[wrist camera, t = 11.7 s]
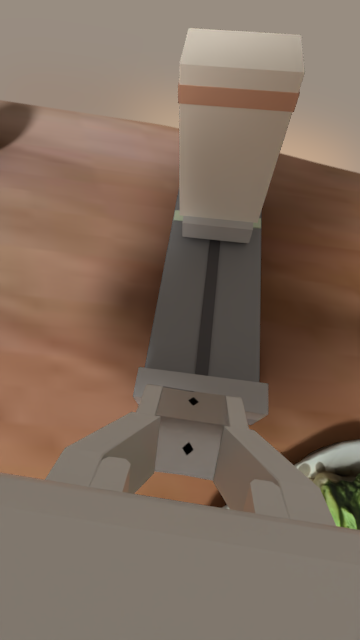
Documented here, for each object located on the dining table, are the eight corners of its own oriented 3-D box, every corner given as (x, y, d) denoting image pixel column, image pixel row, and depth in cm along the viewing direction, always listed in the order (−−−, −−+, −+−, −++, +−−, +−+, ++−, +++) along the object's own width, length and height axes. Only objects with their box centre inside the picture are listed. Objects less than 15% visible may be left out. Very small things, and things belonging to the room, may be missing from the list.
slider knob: (253, 243, 22) (307, 81, 13) (177, 236, 22) (176, 72, 13) (254, 196, 24) (301, 28, 15) (185, 190, 25) (189, 21, 15)
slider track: (251, 424, 19) (268, 414, 15) (141, 409, 19) (133, 396, 16) (256, 199, 28) (267, 159, 24) (181, 192, 28) (181, 152, 24)
